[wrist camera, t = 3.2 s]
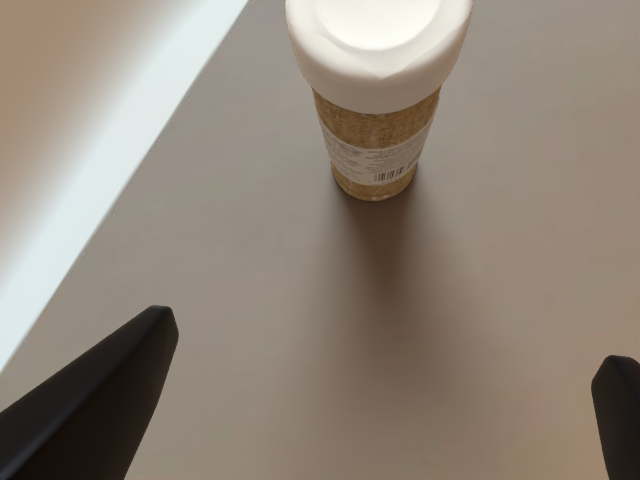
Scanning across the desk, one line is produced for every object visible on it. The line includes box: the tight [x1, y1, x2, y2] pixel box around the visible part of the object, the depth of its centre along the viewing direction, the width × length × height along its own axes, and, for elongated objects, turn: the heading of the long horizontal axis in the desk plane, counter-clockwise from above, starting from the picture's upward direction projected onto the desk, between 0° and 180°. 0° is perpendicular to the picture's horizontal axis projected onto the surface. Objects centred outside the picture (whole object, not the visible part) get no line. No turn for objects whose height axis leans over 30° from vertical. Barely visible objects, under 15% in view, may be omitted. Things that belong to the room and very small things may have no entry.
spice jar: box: [285, 0, 473, 201], centre depth 17 cm, size 5×5×14 cm
